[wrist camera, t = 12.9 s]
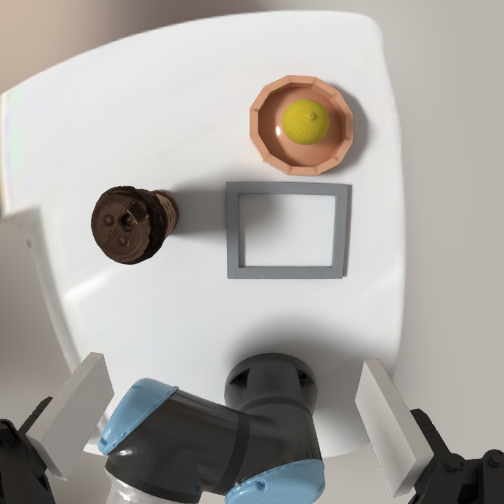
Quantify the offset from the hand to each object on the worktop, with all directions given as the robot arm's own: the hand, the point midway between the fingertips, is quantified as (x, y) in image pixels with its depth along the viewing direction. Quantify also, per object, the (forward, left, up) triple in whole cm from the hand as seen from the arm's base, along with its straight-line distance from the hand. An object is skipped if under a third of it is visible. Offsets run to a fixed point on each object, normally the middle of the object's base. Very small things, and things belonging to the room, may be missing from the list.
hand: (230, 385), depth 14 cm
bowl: (+17, -7, -29) cm, 34 cm away
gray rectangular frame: (+3, -6, -29) cm, 29 cm away
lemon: (+16, -7, -28) cm, 33 cm away
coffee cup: (+5, +12, -29) cm, 32 cm away
